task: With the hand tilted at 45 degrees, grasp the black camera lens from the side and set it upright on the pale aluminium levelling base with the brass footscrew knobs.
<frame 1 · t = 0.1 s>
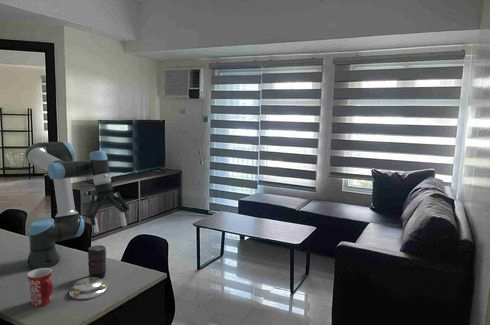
hand: (111, 229, 165), 28 cm above the table, tool tilted 20°, fingers open, 13 cm apart
camera lens: (97, 277, 177), on the table
levelling base: (88, 290, 164), on the table
mug: (43, 304, 152), on the table
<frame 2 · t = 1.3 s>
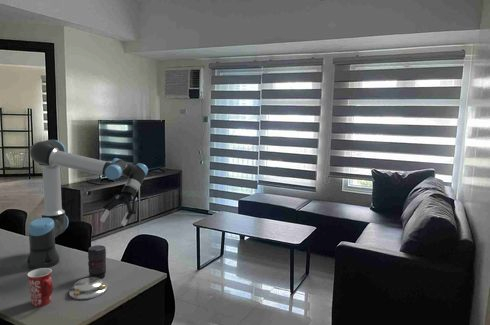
hand: (112, 223, 184), 25 cm above the table, tool tilted 45°, fingers open, 13 cm apart
nothing on the table moved.
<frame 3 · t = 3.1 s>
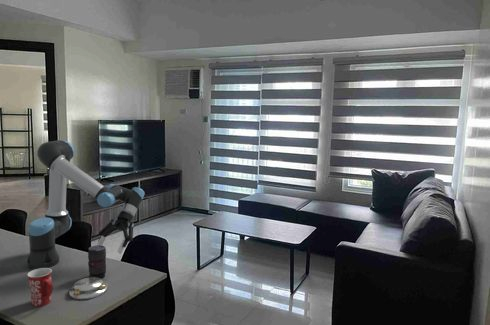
hand: (108, 250, 181), 12 cm above the table, tool tilted 45°, fingers open, 13 cm apart
nothing on the table moved.
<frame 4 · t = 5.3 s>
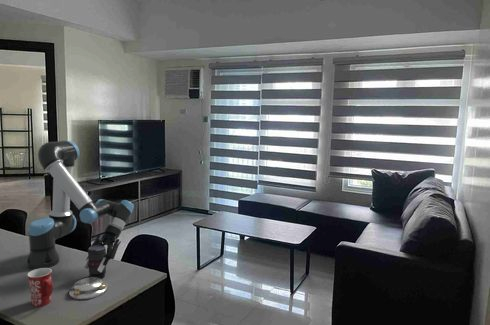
hand: (92, 269, 174), 5 cm above the table, tool tilted 45°, fingers closed on camera lens, 8 cm apart
camera lens: (97, 277, 177), on the table, touching gripper
everything else where it was.
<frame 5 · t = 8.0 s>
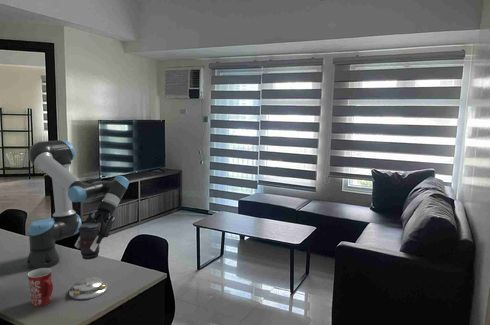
hand: (84, 248, 159), 21 cm above the table, tool tilted 45°, fingers closed on camera lens, 8 cm apart
camera lens: (90, 257, 163), point 15 cm above the table, touching gripper
everything else where it was.
when the fingers open (10 cm above the table, at t = 11.1 s): camera lens drops 1 cm, resting on levelling base.
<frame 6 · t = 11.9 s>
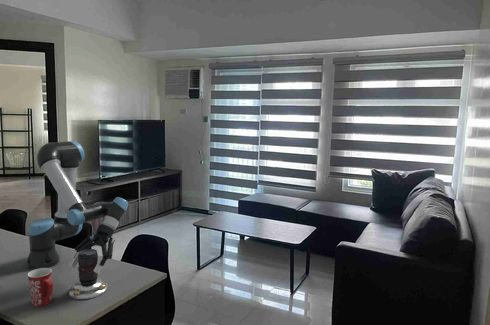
hand: (83, 269, 160), 11 cm above the table, tool tilted 45°, fingers open, 13 cm apart
camera lens: (88, 283, 163), point 3 cm above the table, touching levelling base
everything else where it was.
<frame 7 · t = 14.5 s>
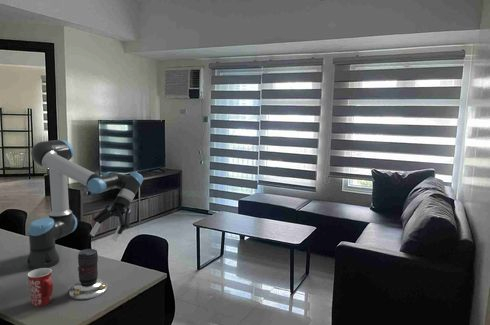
hand: (102, 237, 169), 22 cm above the table, tool tilted 45°, fingers open, 13 cm apart
nothing on the table moved.
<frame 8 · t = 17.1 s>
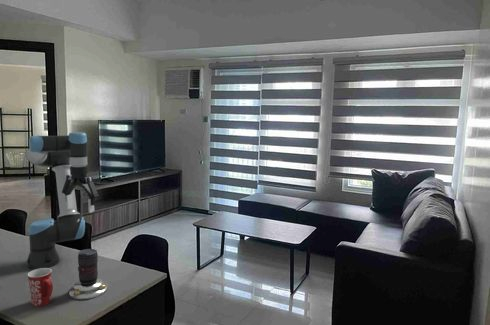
hand: (80, 210, 169), 35 cm above the table, tool pointing down, fingers open, 13 cm apart
nothing on the table moved.
at the end: camera lens 0.1 cm off-centre on the levelling base, point 3.4 cm above the levelling base's base; camera lens tilted 0°; the gripper is holding nothing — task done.
